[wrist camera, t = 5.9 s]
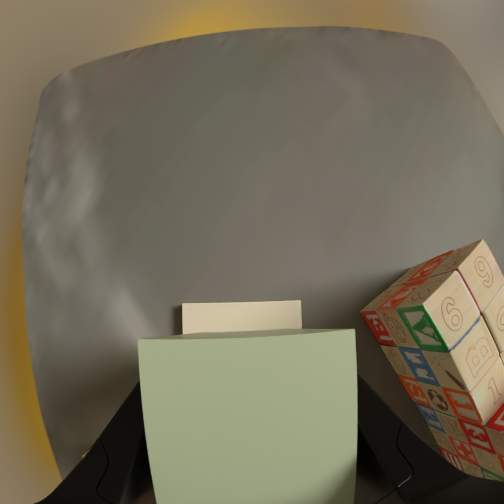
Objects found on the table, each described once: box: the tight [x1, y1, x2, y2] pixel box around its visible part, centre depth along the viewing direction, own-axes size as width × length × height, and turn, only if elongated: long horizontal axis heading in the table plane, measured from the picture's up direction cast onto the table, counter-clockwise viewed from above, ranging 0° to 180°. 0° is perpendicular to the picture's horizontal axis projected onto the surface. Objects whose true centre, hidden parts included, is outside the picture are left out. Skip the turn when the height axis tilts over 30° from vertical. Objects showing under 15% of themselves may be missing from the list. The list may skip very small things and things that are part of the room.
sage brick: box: [138, 328, 357, 504], centre depth 11 cm, size 4×4×10 cm
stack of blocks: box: [360, 239, 504, 481], centre depth 15 cm, size 21×6×12 cm, turn 34°
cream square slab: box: [182, 300, 302, 334], centre depth 21 cm, size 8×8×2 cm
